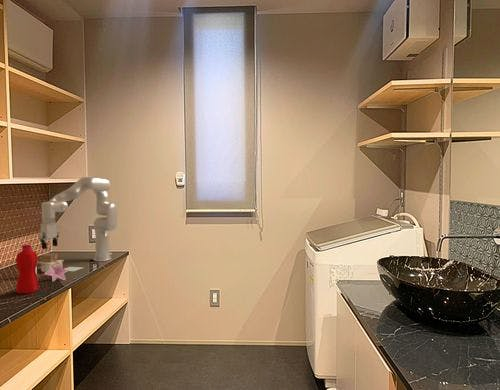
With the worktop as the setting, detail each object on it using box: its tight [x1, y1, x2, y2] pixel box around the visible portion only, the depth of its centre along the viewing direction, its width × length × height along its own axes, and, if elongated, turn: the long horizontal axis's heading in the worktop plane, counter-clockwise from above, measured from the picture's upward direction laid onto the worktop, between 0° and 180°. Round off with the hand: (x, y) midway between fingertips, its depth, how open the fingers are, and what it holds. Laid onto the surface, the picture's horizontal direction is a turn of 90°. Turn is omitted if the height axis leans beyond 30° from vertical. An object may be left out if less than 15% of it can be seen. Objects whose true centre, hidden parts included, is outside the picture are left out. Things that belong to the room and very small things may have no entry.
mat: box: [64, 266, 83, 272], centre depth 261 cm, size 11×11×1 cm
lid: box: [37, 253, 65, 265], centre depth 257 cm, size 12×12×5 cm
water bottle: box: [15, 244, 39, 295], centre depth 211 cm, size 9×11×25 cm
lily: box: [44, 262, 69, 282], centre depth 237 cm, size 12×12×10 cm
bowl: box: [40, 263, 58, 273], centre depth 257 cm, size 9×9×6 cm
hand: (49, 247), depth 257 cm, fingers open, 9 cm apart
